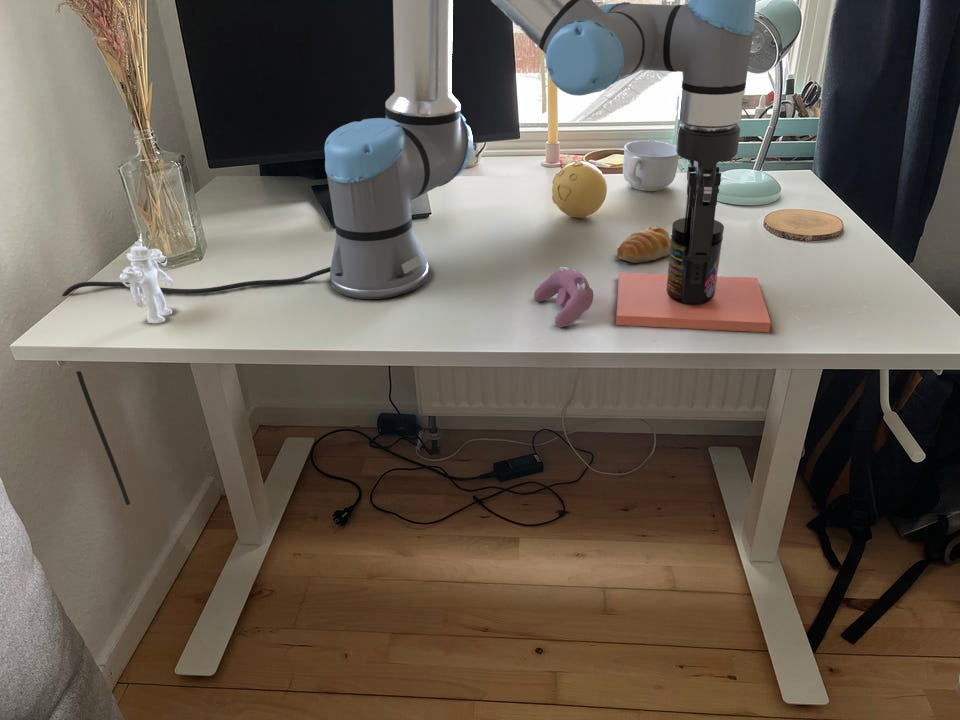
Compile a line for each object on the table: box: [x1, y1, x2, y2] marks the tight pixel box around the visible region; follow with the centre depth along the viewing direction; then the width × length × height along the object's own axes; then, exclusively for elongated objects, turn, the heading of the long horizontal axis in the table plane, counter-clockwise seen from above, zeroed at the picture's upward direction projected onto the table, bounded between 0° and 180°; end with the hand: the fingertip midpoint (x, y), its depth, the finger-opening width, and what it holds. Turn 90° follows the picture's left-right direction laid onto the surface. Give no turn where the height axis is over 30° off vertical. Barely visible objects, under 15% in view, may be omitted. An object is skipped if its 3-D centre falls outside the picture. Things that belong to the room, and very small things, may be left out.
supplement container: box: [666, 217, 725, 305], centre depth 104 cm, size 7×7×10 cm
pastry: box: [616, 226, 671, 264], centre depth 122 cm, size 9×7×4 cm
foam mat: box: [615, 272, 772, 333], centre depth 107 cm, size 20×14×2 cm
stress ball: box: [551, 160, 608, 218], centre depth 137 cm, size 10×10×10 cm
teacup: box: [622, 140, 680, 192], centre depth 149 cm, size 14×11×8 cm
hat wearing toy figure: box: [119, 233, 174, 324], centre depth 108 cm, size 9×4×12 cm, turn 170°
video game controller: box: [533, 266, 595, 328], centre depth 106 cm, size 10×5×7 cm, turn 17°
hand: (690, 290), depth 106 cm, fingers closed on supplement container, 7 cm apart
